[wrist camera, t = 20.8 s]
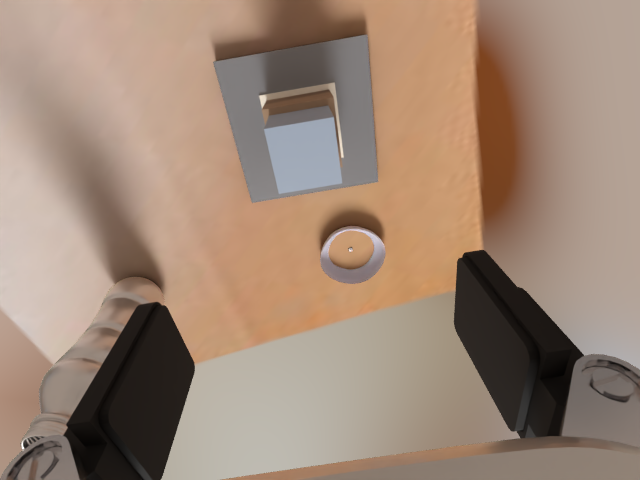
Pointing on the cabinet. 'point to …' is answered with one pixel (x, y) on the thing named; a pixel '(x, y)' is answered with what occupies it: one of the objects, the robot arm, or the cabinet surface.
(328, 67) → the building board
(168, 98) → the cabinet surface
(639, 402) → the robot arm
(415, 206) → the cabinet surface
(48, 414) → the plastic bottle
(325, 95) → the walnut block
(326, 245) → the lavender ring
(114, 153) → the cabinet surface
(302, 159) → the slate blue cube
